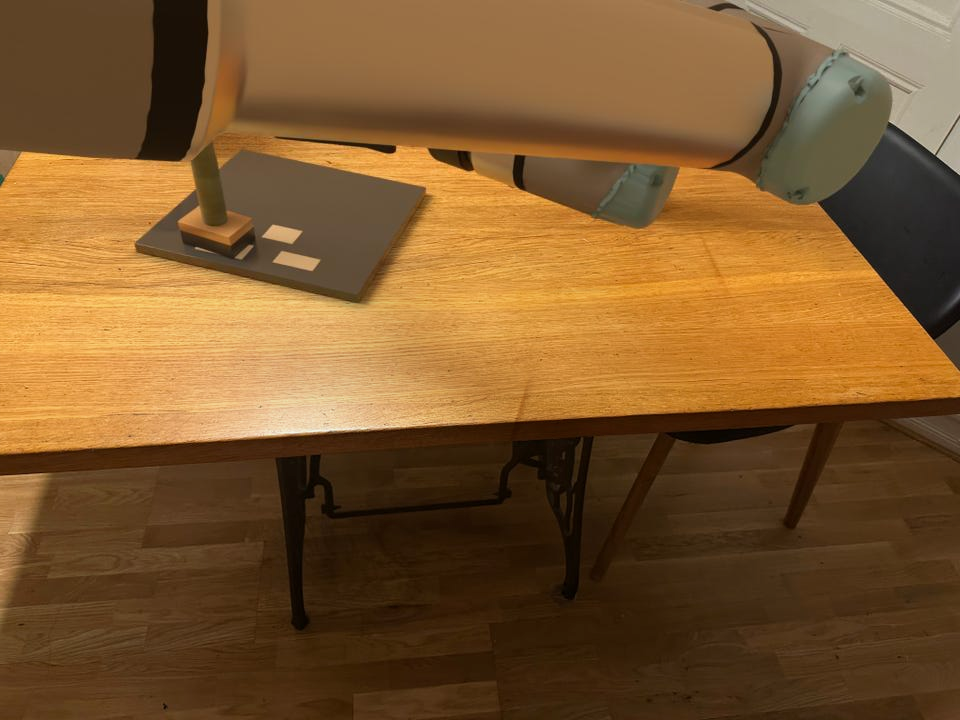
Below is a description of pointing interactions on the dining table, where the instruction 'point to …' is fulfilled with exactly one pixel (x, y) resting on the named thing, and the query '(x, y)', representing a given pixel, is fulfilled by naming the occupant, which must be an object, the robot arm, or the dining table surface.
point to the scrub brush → (214, 212)
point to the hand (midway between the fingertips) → (282, 60)
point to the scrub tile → (299, 224)
